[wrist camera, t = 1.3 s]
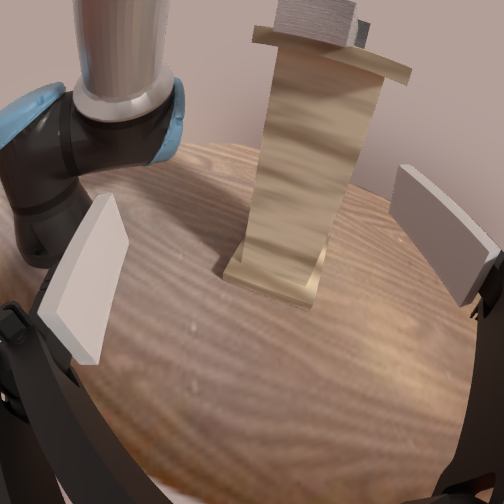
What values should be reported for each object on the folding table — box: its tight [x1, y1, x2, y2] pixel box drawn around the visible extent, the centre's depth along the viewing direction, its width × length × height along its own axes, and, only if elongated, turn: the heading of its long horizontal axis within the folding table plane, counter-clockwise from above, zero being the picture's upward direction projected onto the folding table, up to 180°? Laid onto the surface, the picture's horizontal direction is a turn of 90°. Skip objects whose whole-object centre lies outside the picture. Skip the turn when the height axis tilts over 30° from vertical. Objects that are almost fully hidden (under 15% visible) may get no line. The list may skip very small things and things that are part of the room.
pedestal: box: [222, 25, 412, 311], centre depth 31 cm, size 14×12×30 cm
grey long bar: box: [273, 0, 370, 49], centre depth 16 cm, size 24×5×3 cm, turn 160°
